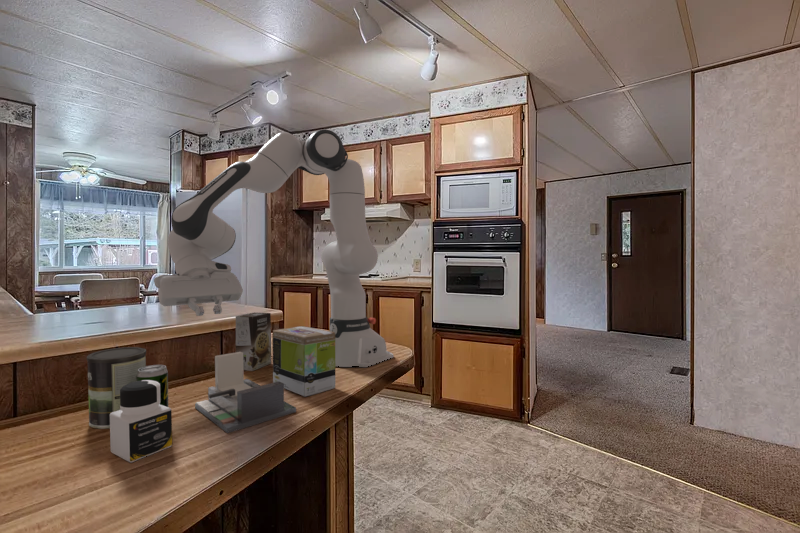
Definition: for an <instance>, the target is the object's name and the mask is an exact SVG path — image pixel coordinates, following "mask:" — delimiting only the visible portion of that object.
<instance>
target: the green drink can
mask: <svg viewBox="0 0 800 533" xmlns="http://www.w3.org/2000/svg"><path fill="white" fill-rule="evenodd" d="M141 380H153V381H157V382H158V383H160V401H161V402H160V405H163V406H166V407H169V372H168V369H167V366H166V365H164V364H153V365H146V367H142V368H139V369H138V373H137V375H136V381H141ZM169 408H170V407H169Z"/></svg>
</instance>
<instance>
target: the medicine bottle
mask: <svg viewBox="0 0 800 533" xmlns="http://www.w3.org/2000/svg"><path fill="white" fill-rule="evenodd" d="M160 402H161V401H160V383H158V382H157V381H153V380H141V381H135V382H132V383H129V384H127V385H125V386H123V387H122V388H121V389H120V410H119V411H115V412H112V413H110V428H109V436H110V439H109V442H110V446H109V447H110V452H111V453H112V454H113V455H116V456H117V457H119V458H121V459H122V460H124V461H126V462H128V463H134V462H137V461H140V460H141V459H145V458H147V457H149V456H152V455H154V454H156V453H159V452H161V451H164V450H167V449H169V448H171V447H173V446H172V445H173V430H172V429H173V427H172V426H173V422H172V419H173V418H172V408H171V407H166V406H163V405H160ZM146 456H147V457H146Z"/></svg>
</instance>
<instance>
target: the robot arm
mask: <svg viewBox="0 0 800 533" xmlns="http://www.w3.org/2000/svg"><path fill="white" fill-rule="evenodd" d="M348 157H349V154H348V152H347V150H346V148H345V147H344V144H343V142H342V140H341V138H340V136H338V133H336V132H334V131H332V130H330V129H319V130H316V131H314V132H313V133H312V134H310V136H309V137H307V139H306V140H301V139H299V138H298V137H297V136H295V135H294V134H292V133H290V132H287V131H281V132H279V133H277V134H276V135H274V136H273V137H272V138H270V139H269V140H268V141H267V142H266V143H265V144H264V145H263V146H261V148H260V149H259V150H258V151H257V152H256V153H255V154H254V155H253V156H252V157H251V158H249V159H247V160H246V161H236V162H234V163H232V164H231V165H230V166H228V167H227V168H225V169H224V170H222V171H221V173H219V174H218V175H217V176H215V177H214V178H213V179H211V181H209V183H207V184H205V186H204V187H203V188H201V189H200V190H199V191H198V192H196V193H195V194H194V195H193V196H191V197H190V198H187V199H186V200H184V201H183V202H181V203H180V204H179V205H177V206H176V207H175V208H174V209H173V210H172V213H171V216H170V220H171V221H170V224H171V227H172V228H171V229H172V230H170V232H169V234H168V236H167V246H168V250H169V254H170V258H171V260H172V262H173V263H174V269H175V273H171V274H170V273H169V274H166V273H165V274H163V273H162V274H159V276H156V277H154V279H153V283H154V286H155V287H156V288H157V289H158V291H157V292H158V301H159V304H160V305H161V306H162V307H175V306H185V305H186V306H188V308H189V309H191V310H192V311H193V312H195V315H196V317H199V316H200V317H201V316H204V314H205V310H204V306H200V304H209V303H214V306H213V309H212V310H213V313H214V315H219V314H220V315H221V314H222V312H223V309H222V306H221V305H222V303H223V302H231V301H239V300H240V298H241V297H242V294H243V291H244V290H243V287H242V285H241V282H240V280H239V279H238V277H237V276H236V274H235V273H233V272H232V267H231V265H229V264H227V263H222V262H217V261H214V260H215V259H217V258H219V257H221V256H222V255H225V254H226V253H228V252H229V251H230V250H231V249H232V248H233V246H234V245H235V242H236V239H237V238H236V236H237V235H236V234H237V233H236V230H235V228H234V227H232V226H231V225H230V224H228V223H227V222H226V221H225V220H223V219H222V218H220V217H219V216H218V215H217V214H216V213H215V212H213V211H214V209H215V208H216V207H217V206H218V205H220V204H221V203H222V202H223V201H224V200H226V198H228V197H229V196H230V195H232V193H233V192H235V191H236V190H240V189H247V190H251V191H252V192H253V191H254V192H256V193H259V194H271V193H275V192H276V191H278V190H279V189H280V188H282V186H283V185H284V184H285V183H286V181H287V180H288V179H289V178H290V177H291V175H292V174H293V173H294V172H295V171H296V170H297V169H299V170H302V171H304V172H306V173H309V174H310V175H314V176H321V175H326V178H327V179H328V184H329V220H330V223H331V224H332V226H333V228H334V232H335V236H336V240H333V241H332V242H329V243H328V244H327V245H325V246H324V247H323V249H322V251H321V254H320V256H321V257H320V258H321V263H322V264H323V266H324V267H325V268H324V269H325V272H326V276H327V281H328V286H329V292H330V317H329V331H332V332H335V367H338V366H339V367H340V368H353V367H352V366H359V367H358V368H369V367H371V365H372V366H375V365H376V363H377V364H380V363H383V362H385V361H387V359H388V360H390V358H391V359H393V358H394V357H395V356H394V354H393V353H392V352H390V351H388V350H387V343H386V340H385V338H384V337H383V336H381V335H380V334H379V333H378V332H376V331H375V330H373V329H372V328H371V325H370V324H372V325H375V324H376V322H377V319H376V317H371V316H370V317H369V318H368V317H367V313H366V312H367V311H366V308H367V306H366V305H367V303H366V302H367V301H366V299H367V297H366V296H367V295H366V291H365V289H364V287H363V286H362V283H361V279H360V275H362V274H364V275H365V274H367V273H369V272H370V271H372V270H373V269H374V268H375V267H376V266H377V263H378V260H379V259H378V257H379V255H378V251H377V249H376V248H377V247H375V245H374V244H373V243H372V241H371V237H370V234H369V229H368V226H367V221H366V219H367V218H366V201H365V200H366V195H365V194H366V193H365V192H366V187H365V179H364V173H363V168H362V166H361V165H360V164H359V162H357V161H356V160H354V159H349V158H348ZM384 360H385V361H384ZM382 361H383V362H382ZM379 362H380V363H379ZM368 366H369V367H368Z"/></svg>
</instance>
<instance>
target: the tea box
mask: <svg viewBox="0 0 800 533" xmlns="http://www.w3.org/2000/svg"><path fill="white" fill-rule="evenodd" d="M336 381H337V380H336V366H335V332H332V331H330V330H325V329H320V328H315V327H309V326H303V325H302V326H293V327H288V328H279V329H273V330H272V383H274V382H282V383H284V390H288V391H290V392H293V393H295V394H298V395H301V396H302V397H310V396H313V395H317V394H320V393H323V392H326V391H330V390H332V389H335V388H336Z"/></svg>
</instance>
